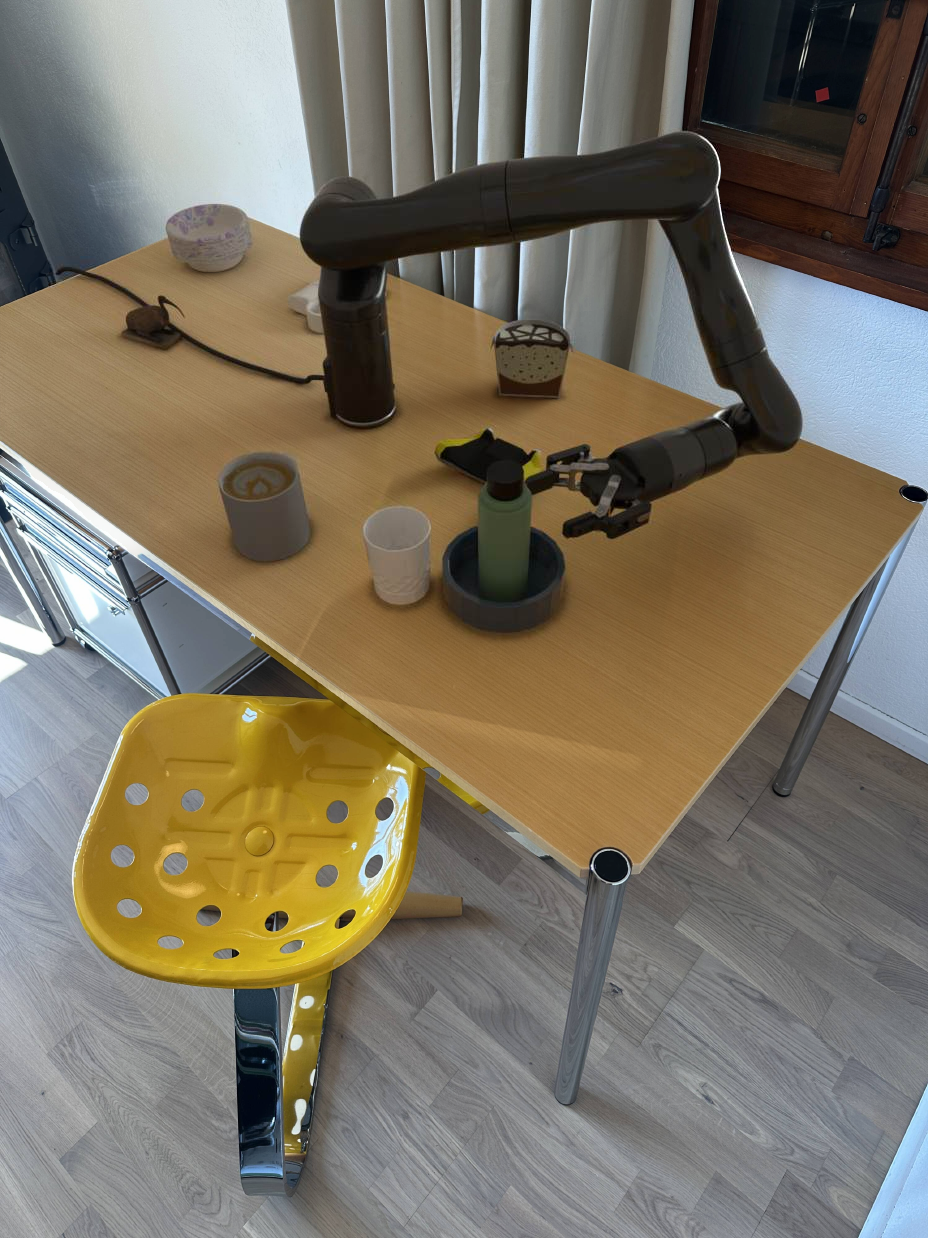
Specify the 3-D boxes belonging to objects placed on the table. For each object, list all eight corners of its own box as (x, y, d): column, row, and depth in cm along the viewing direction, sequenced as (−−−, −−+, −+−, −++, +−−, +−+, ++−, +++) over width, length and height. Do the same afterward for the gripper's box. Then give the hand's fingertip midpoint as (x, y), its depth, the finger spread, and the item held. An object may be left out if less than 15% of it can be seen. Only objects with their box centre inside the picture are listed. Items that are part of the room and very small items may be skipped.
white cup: (370, 567, 111) (362, 507, 103) (432, 563, 111) (428, 503, 104) (371, 613, 105) (362, 553, 98) (436, 608, 106) (432, 548, 98)
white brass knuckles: (342, 276, 163) (404, 297, 157) (276, 317, 153) (340, 341, 148) (340, 258, 161) (403, 279, 155) (273, 299, 151) (338, 323, 145)
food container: (569, 376, 139) (574, 318, 132) (569, 398, 135) (574, 339, 128) (492, 373, 140) (493, 315, 133) (489, 394, 136) (490, 336, 129)
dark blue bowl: (429, 622, 104) (427, 593, 101) (461, 542, 114) (460, 513, 110) (548, 646, 102) (551, 617, 98) (571, 561, 111) (575, 532, 107)
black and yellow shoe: (515, 519, 117) (557, 480, 122) (516, 486, 112) (560, 448, 118) (429, 476, 123) (472, 441, 128) (427, 444, 119) (472, 410, 124)
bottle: (472, 600, 106) (471, 484, 92) (485, 567, 110) (485, 450, 96) (521, 609, 105) (526, 493, 91) (531, 575, 109) (538, 459, 95)
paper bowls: (220, 287, 161) (209, 244, 155) (159, 268, 166) (147, 227, 160) (272, 253, 170) (264, 212, 164) (212, 237, 175) (203, 196, 169)
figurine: (202, 343, 148) (189, 295, 141) (185, 356, 145) (171, 307, 139) (139, 324, 152) (124, 276, 146) (121, 336, 150) (105, 288, 143)
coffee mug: (281, 571, 111) (266, 510, 103) (219, 546, 114) (200, 486, 106) (339, 509, 118) (329, 449, 111) (279, 488, 122) (266, 428, 114)
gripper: (626, 410, 108) (513, 450, 103) (700, 473, 99) (581, 520, 94) (619, 459, 113) (512, 499, 108) (688, 523, 105) (575, 569, 100)
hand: (544, 509), depth 101 cm, fingers open, 8 cm apart
